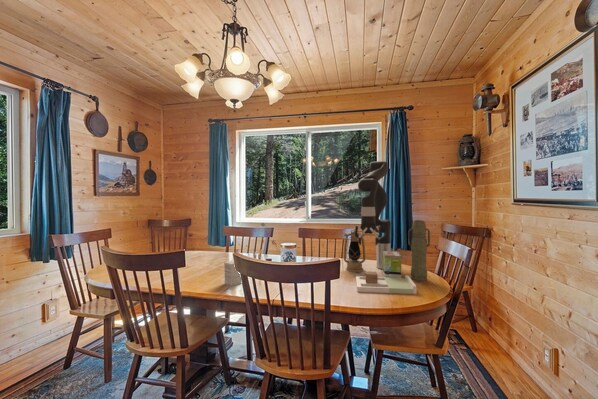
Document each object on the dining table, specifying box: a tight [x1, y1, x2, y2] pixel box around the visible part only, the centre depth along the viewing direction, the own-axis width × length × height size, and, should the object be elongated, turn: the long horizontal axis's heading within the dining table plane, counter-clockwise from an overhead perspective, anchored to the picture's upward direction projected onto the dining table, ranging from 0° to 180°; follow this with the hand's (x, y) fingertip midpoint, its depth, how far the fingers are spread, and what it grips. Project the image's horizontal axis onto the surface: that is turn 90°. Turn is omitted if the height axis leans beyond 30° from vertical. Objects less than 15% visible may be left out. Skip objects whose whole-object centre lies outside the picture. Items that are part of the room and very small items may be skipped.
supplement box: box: [223, 260, 242, 287], centre depth 170 cm, size 7×7×13 cm
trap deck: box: [355, 275, 418, 295], centre depth 162 cm, size 20×30×4 cm
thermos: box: [407, 219, 431, 283], centre depth 175 cm, size 9×12×35 cm
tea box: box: [382, 250, 403, 278], centre depth 182 cm, size 15×10×15 cm, turn 168°
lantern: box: [343, 225, 366, 273], centre depth 200 cm, size 14×12×30 cm
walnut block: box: [364, 270, 379, 284], centre depth 163 cm, size 6×6×5 cm
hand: (368, 244), depth 163 cm, fingers open, 8 cm apart
